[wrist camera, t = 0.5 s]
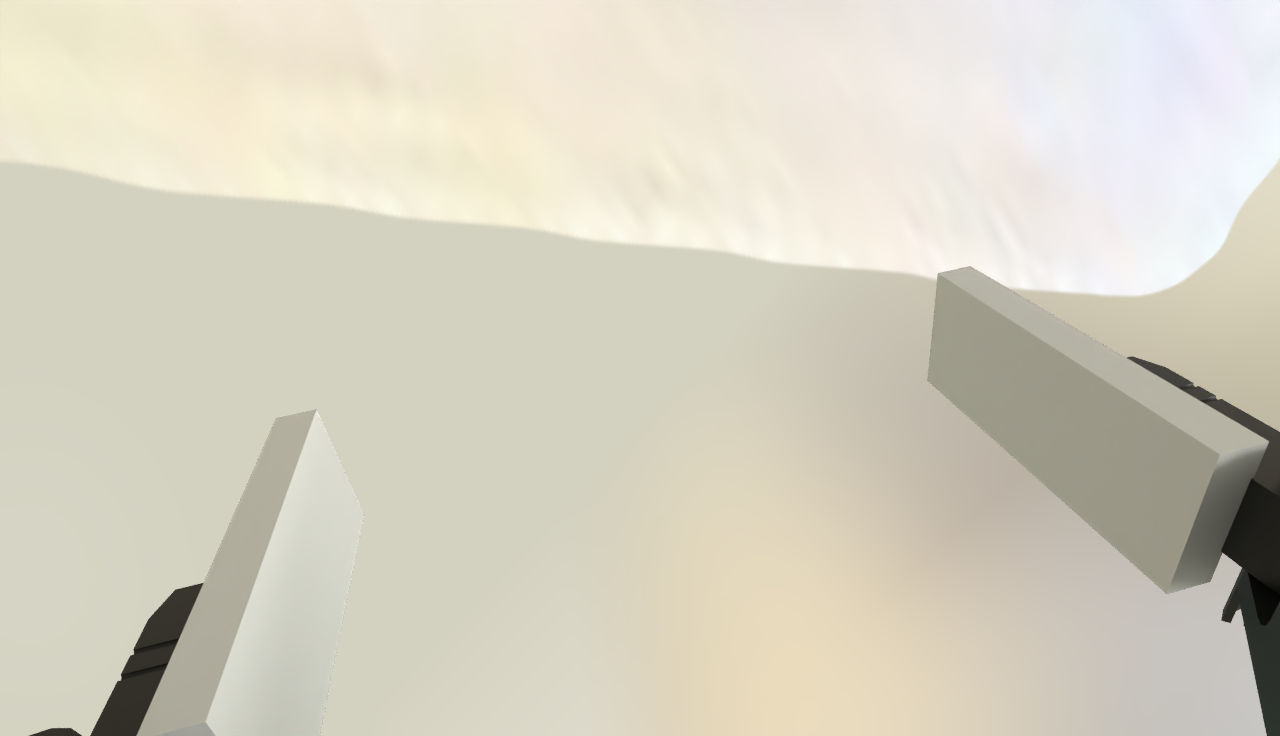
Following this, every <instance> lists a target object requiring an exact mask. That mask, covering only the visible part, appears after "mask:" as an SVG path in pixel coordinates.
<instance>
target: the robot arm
mask: <svg viewBox="0 0 1280 736" xmlns="http://www.w3.org/2000/svg"><path fill="white" fill-rule="evenodd" d="M928 382H930V383H931V384H932V385H933V386H934V387H935V388H936V389H937V390H939V391H940V392H941V393H942V394H943V395H944V396H945V397H946V398H948V399H949V400H950V401H951V402H952V403H953V404H954V405H956V406H957V407H958V408H959V409H960V410H961V411H962V412H963V413H964V414H966V415H967V416H968V417H969V418H970V419H971V420H972V421H974V422H975V423H976V424H977V425H978V426H979V427H980V428H981V429H982V430H984V431H985V432H986V433H987V434H988V435H989V436H990V437H991V438H992V439H994V440H995V441H996V442H997V443H998V444H999V445H1000V446H1001V447H1003V448H1004V449H1005V450H1006V451H1007V452H1008V453H1009V454H1010V455H1011V456H1013V457H1014V458H1015V459H1016V460H1017V461H1018V462H1019V463H1020V464H1022V465H1023V466H1024V467H1025V468H1026V469H1027V470H1028V471H1029V472H1031V473H1032V474H1033V475H1034V476H1035V477H1036V478H1037V479H1038V480H1040V481H1041V482H1042V483H1043V484H1044V485H1045V486H1046V487H1047V488H1048V489H1050V490H1051V491H1052V492H1053V493H1054V494H1055V495H1056V496H1057V497H1059V498H1060V499H1061V500H1062V501H1063V502H1064V503H1065V504H1066V505H1068V506H1069V507H1070V508H1071V509H1072V510H1073V511H1074V512H1076V513H1077V514H1078V515H1079V516H1080V517H1081V518H1082V519H1083V520H1084V521H1085V522H1087V523H1088V524H1089V525H1090V526H1091V527H1092V528H1093V529H1094V530H1096V531H1097V532H1098V533H1099V534H1100V535H1101V536H1102V537H1103V538H1104V539H1106V540H1107V541H1108V542H1109V543H1110V544H1111V545H1112V546H1114V547H1115V548H1116V549H1117V550H1118V551H1119V552H1120V553H1121V554H1122V555H1124V556H1125V557H1126V558H1127V559H1128V560H1129V561H1130V562H1131V563H1133V564H1134V565H1135V566H1136V567H1137V568H1138V569H1139V570H1140V571H1141V572H1143V573H1144V574H1145V575H1146V576H1147V577H1148V578H1149V579H1151V580H1152V581H1153V582H1154V583H1155V584H1156V585H1157V586H1158V587H1160V588H1161V589H1162V590H1163V591H1164V592H1165V593H1166V594H1169V593H1172V592H1175V591H1179V590H1182V589H1186V588H1190V587H1193V586H1197V585H1200V584H1204V583H1207V582H1210V581H1211V579H1212V576H1213V574H1214V571H1215V569H1216V567H1217V564H1218V562H1219V560H1220V557H1221V555H1222V553H1224V554H1225V555H1227V556H1228V557H1229V558H1230V559H1232V560H1233V561H1234V562H1236V563H1237V564H1238V565H1239V566H1241V567H1242V569H1241V572H1240V574H1239V576H1238V578H1237V580H1236V583H1235V585H1234V587H1233V589H1232V592H1231V594H1230V596H1229V598H1228V601H1227V603H1226V605H1225V607H1224V609H1223V614H1222V621H1225V622H1229V623H1231V621H1232V618H1233V616H1234V614H1235V612H1236V611H1237V610H1239V609H1241V611H1242V616H1243V621H1244V626H1245V630H1246V635H1247V640H1248V645H1249V650H1250V655H1251V660H1252V665H1253V670H1254V674H1255V679H1256V684H1257V689H1258V694H1259V699H1260V704H1261V709H1262V713H1263V719H1264V723H1265V728H1266V733H1267V736H1280V432H1279V431H1277V430H1275V429H1273V428H1272V427H1270V426H1268V425H1266V424H1264V423H1263V422H1261V421H1259V420H1258V419H1256V418H1254V417H1252V416H1251V415H1249V414H1247V413H1245V412H1243V411H1242V410H1240V409H1238V408H1236V407H1235V406H1233V405H1231V404H1229V403H1227V402H1226V401H1224V400H1222V399H1220V400H1217V399H1216V396H1215V395H1214V394H1212V393H1210V392H1208V391H1206V390H1205V389H1203V388H1201V387H1199V386H1198V387H1194V385H1193V383H1192V382H1190V381H1189V380H1187V379H1185V378H1184V377H1182V376H1180V375H1178V374H1176V373H1175V372H1173V371H1171V370H1169V369H1168V368H1166V367H1163V366H1160V365H1157V364H1154V363H1151V362H1148V361H1145V360H1142V359H1138V358H1135V357H1127V358H1126V357H1124V356H1123V355H1121V354H1119V353H1117V352H1116V351H1114V350H1112V349H1111V348H1109V347H1107V346H1106V345H1104V344H1102V343H1100V342H1099V341H1097V340H1095V339H1094V338H1092V337H1090V336H1088V335H1087V334H1085V333H1083V332H1082V331H1080V330H1078V329H1077V328H1075V327H1073V326H1071V325H1070V324H1068V323H1066V322H1065V321H1063V320H1061V319H1059V318H1058V317H1056V316H1054V315H1053V314H1051V313H1049V312H1048V311H1046V310H1044V309H1042V308H1041V307H1039V306H1037V305H1035V304H1034V303H1032V302H1030V301H1029V300H1027V299H1025V298H1024V297H1022V296H1020V295H1019V294H1017V293H1015V292H1013V291H1012V290H1010V289H1008V288H1007V287H1005V286H1003V285H1001V284H1000V283H998V282H996V281H995V280H993V279H991V278H990V277H988V276H986V275H984V274H983V273H981V272H979V271H978V270H976V269H974V268H972V267H971V266H969V267H965V268H960V269H956V270H951V271H947V272H942V273H938V277H937V288H936V298H935V308H934V319H933V329H932V339H931V349H930V359H929V370H928ZM363 516H364V514H363V511H362V509H361V507H360V504H359V502H358V500H357V498H356V496H355V493H354V491H353V489H352V487H351V485H350V482H349V480H348V478H347V476H346V474H345V472H344V469H343V467H342V465H341V462H340V460H339V458H338V456H337V454H336V451H335V449H334V447H333V445H332V443H331V440H330V438H329V436H328V434H327V432H326V429H325V427H324V425H323V423H322V420H321V418H320V416H319V414H318V412H317V410H312V411H307V412H303V413H298V414H294V415H289V416H285V417H280V418H276V420H275V422H274V424H273V427H272V429H271V431H270V433H269V436H268V438H267V440H266V443H265V445H264V447H263V449H262V452H261V454H260V456H259V458H258V461H257V463H256V465H255V467H254V470H253V472H252V474H251V477H250V479H249V481H248V483H247V486H246V488H245V491H244V493H243V495H242V497H241V499H240V502H239V504H238V506H237V508H236V511H235V513H234V515H233V518H232V520H231V522H230V524H229V527H228V529H227V531H226V534H225V536H224V538H223V540H222V543H221V545H220V547H219V549H218V552H217V554H216V556H215V558H214V561H213V563H212V565H211V568H210V570H209V572H208V574H207V577H206V579H205V582H204V583H201V584H198V585H194V586H189V587H185V588H181V589H177V590H175V591H174V592H173V593H172V594H171V595H170V597H168V599H167V600H166V601H165V602H164V603H163V604H162V605H161V606H160V607H159V608H158V610H157V611H156V612H155V613H154V614H153V615H152V616H151V617H150V618H149V619H148V621H147V623H146V625H145V627H144V629H143V632H142V633H141V635H140V638H139V639H138V641H137V643H136V645H135V647H134V655H131V656H130V658H129V659H128V661H127V663H126V666H125V667H124V670H123V671H122V673H121V676H122V679H121V681H118V682H117V684H116V685H115V688H114V690H113V691H112V693H111V695H110V698H109V699H108V701H107V704H106V705H105V708H104V709H103V712H102V714H101V715H100V718H99V719H98V721H97V723H96V725H95V727H94V729H93V731H92V733H91V735H90V736H320V733H321V727H322V723H323V717H324V713H325V707H326V702H327V697H328V692H329V687H330V682H331V677H332V672H333V667H334V662H335V657H336V652H337V647H338V642H339V637H340V632H341V627H342V622H343V617H344V612H345V607H346V602H347V596H348V592H349V587H350V582H351V576H352V572H353V567H354V562H355V557H356V552H357V547H358V541H359V537H360V531H361V526H362V522H363ZM30 736H81V735H80V734H79V733H77V732H76V731H74V730H73V729H71V728H52V729H48V730H45V731H42V732H39V733H36V734H33V735H30Z"/></svg>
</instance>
